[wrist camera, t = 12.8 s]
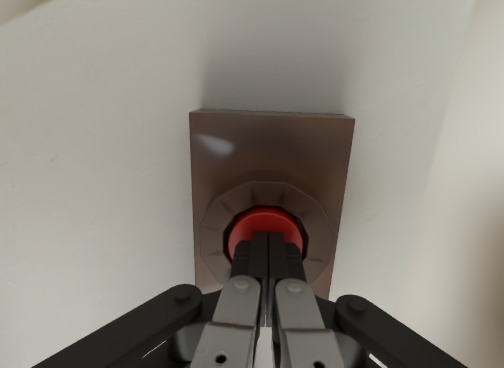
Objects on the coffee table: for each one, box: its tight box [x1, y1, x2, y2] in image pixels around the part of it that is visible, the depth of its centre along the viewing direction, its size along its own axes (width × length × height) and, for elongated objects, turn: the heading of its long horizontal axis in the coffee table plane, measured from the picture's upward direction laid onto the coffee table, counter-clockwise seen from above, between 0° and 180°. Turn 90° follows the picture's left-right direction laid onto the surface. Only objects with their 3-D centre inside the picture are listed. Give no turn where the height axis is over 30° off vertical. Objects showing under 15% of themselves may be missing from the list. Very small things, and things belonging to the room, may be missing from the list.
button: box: [228, 205, 303, 260], centre depth 15 cm, size 4×4×2 cm
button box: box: [189, 109, 355, 314], centre depth 16 cm, size 12×8×4 cm, turn 178°
